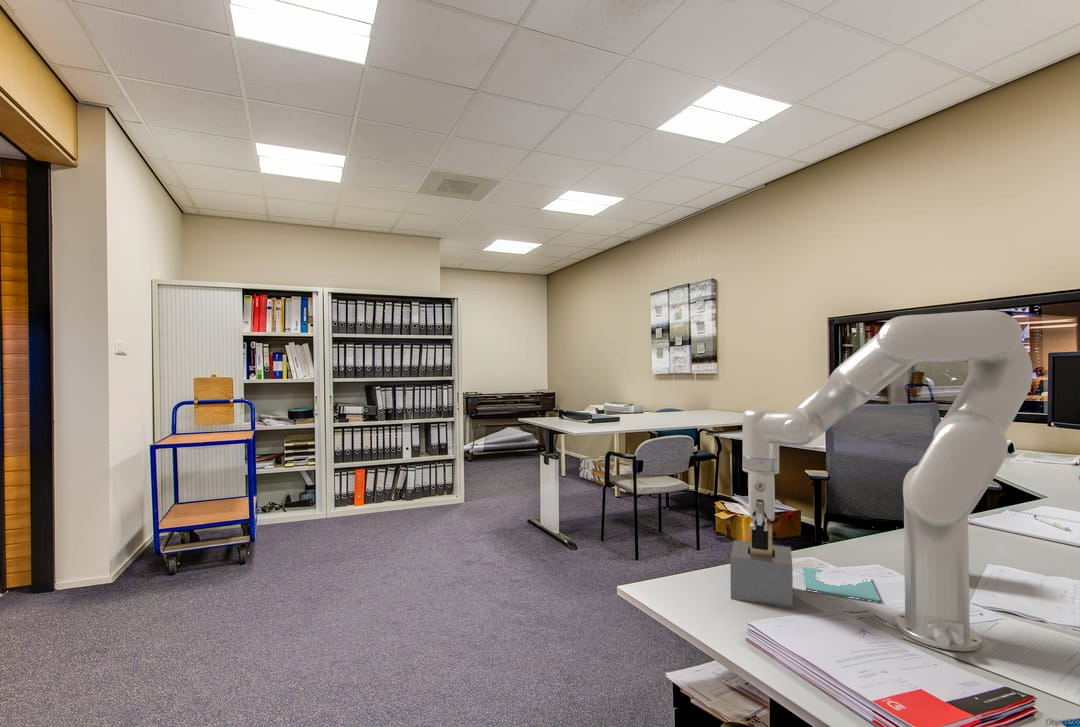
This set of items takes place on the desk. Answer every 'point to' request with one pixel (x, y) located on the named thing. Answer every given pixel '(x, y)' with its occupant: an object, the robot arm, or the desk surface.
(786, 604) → the grey block with hole
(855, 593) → the teal mat
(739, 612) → the desk surface
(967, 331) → the robot arm
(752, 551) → the oak plug
